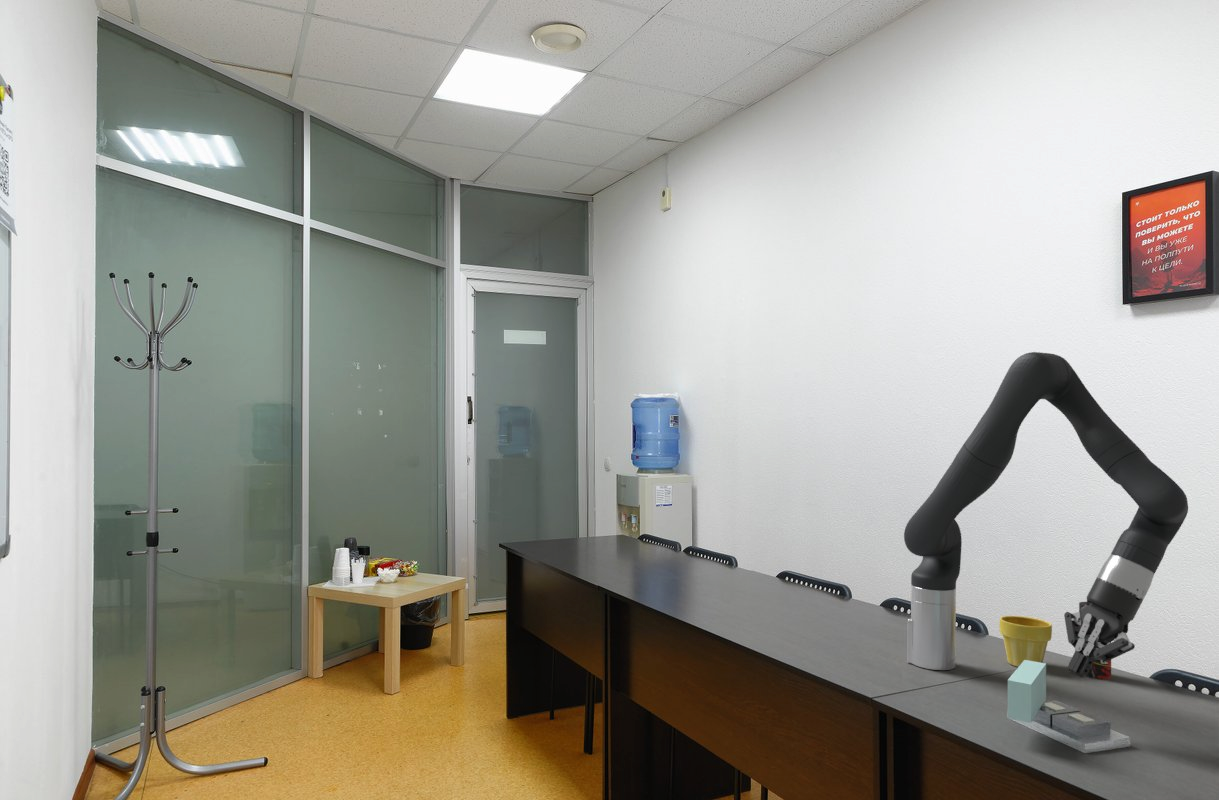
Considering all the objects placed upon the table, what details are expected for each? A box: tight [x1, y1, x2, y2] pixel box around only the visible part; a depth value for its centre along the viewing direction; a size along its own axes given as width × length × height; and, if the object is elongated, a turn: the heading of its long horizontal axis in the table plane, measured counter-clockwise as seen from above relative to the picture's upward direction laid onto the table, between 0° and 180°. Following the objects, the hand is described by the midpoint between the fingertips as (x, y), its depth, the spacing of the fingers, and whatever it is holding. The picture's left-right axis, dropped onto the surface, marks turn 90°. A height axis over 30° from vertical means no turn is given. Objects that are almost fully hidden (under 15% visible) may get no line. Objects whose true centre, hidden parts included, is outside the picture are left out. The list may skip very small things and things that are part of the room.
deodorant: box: [1078, 601, 1112, 680], centre depth 171 cm, size 6×6×15 cm
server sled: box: [1006, 700, 1131, 754], centre depth 139 cm, size 16×10×4 cm, turn 18°
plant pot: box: [999, 615, 1053, 668], centre depth 178 cm, size 10×10×10 cm
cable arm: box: [1006, 660, 1047, 723], centre depth 139 cm, size 17×4×6 cm, turn 143°
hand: (1075, 674), depth 140 cm, fingers closed
